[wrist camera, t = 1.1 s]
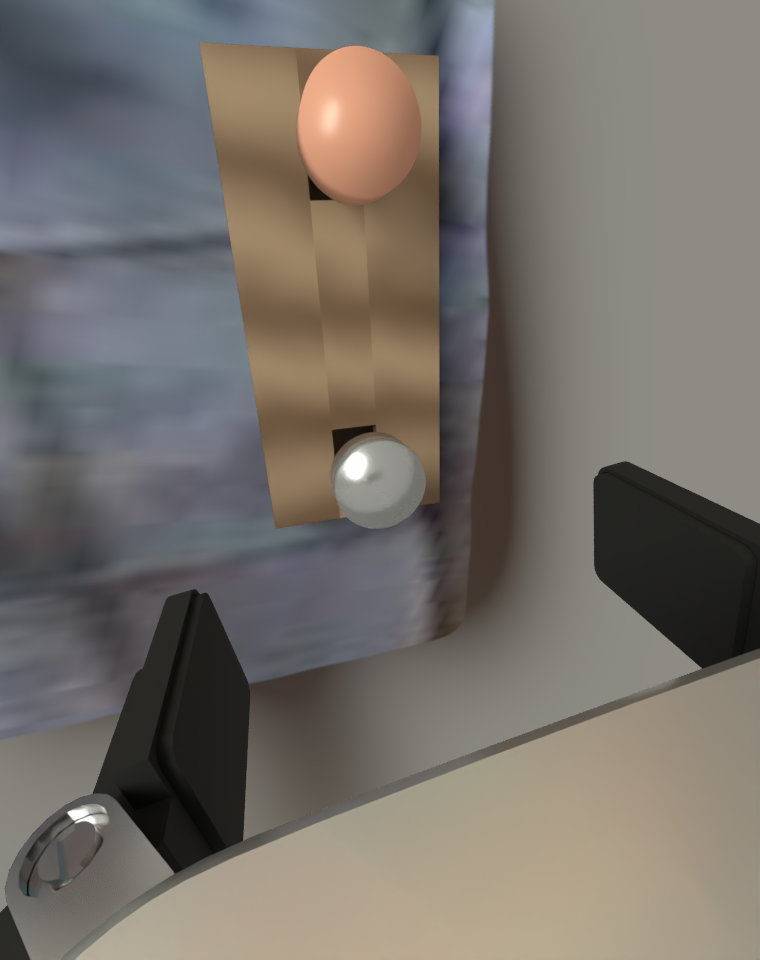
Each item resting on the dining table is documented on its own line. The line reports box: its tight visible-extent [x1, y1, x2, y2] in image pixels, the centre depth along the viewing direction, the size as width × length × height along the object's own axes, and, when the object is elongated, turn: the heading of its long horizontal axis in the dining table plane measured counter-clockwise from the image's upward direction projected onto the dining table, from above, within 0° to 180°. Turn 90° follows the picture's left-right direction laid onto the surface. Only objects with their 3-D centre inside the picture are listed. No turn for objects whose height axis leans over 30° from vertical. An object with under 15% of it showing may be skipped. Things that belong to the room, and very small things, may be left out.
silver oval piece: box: [330, 432, 426, 529], centre depth 28 cm, size 5×5×7 cm
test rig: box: [199, 42, 440, 529], centre depth 30 cm, size 26×12×5 cm, turn 3°
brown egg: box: [296, 46, 422, 206], centre depth 22 cm, size 5×5×7 cm
